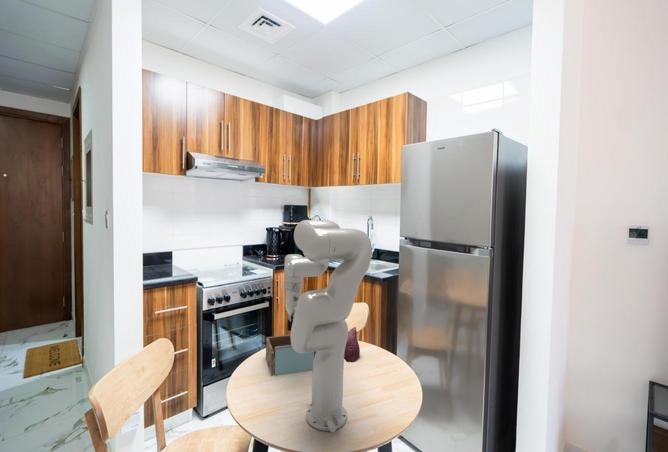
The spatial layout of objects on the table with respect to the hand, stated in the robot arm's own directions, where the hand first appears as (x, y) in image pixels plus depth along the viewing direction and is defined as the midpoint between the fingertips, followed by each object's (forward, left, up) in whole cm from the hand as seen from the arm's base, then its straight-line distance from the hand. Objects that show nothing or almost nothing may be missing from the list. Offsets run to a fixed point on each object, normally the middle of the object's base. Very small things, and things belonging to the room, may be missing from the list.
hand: (291, 329), depth 123 cm
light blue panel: (-7, 0, -14) cm, 16 cm away
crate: (+1, 0, -15) cm, 15 cm away
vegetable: (+2, -26, -16) cm, 30 cm away
